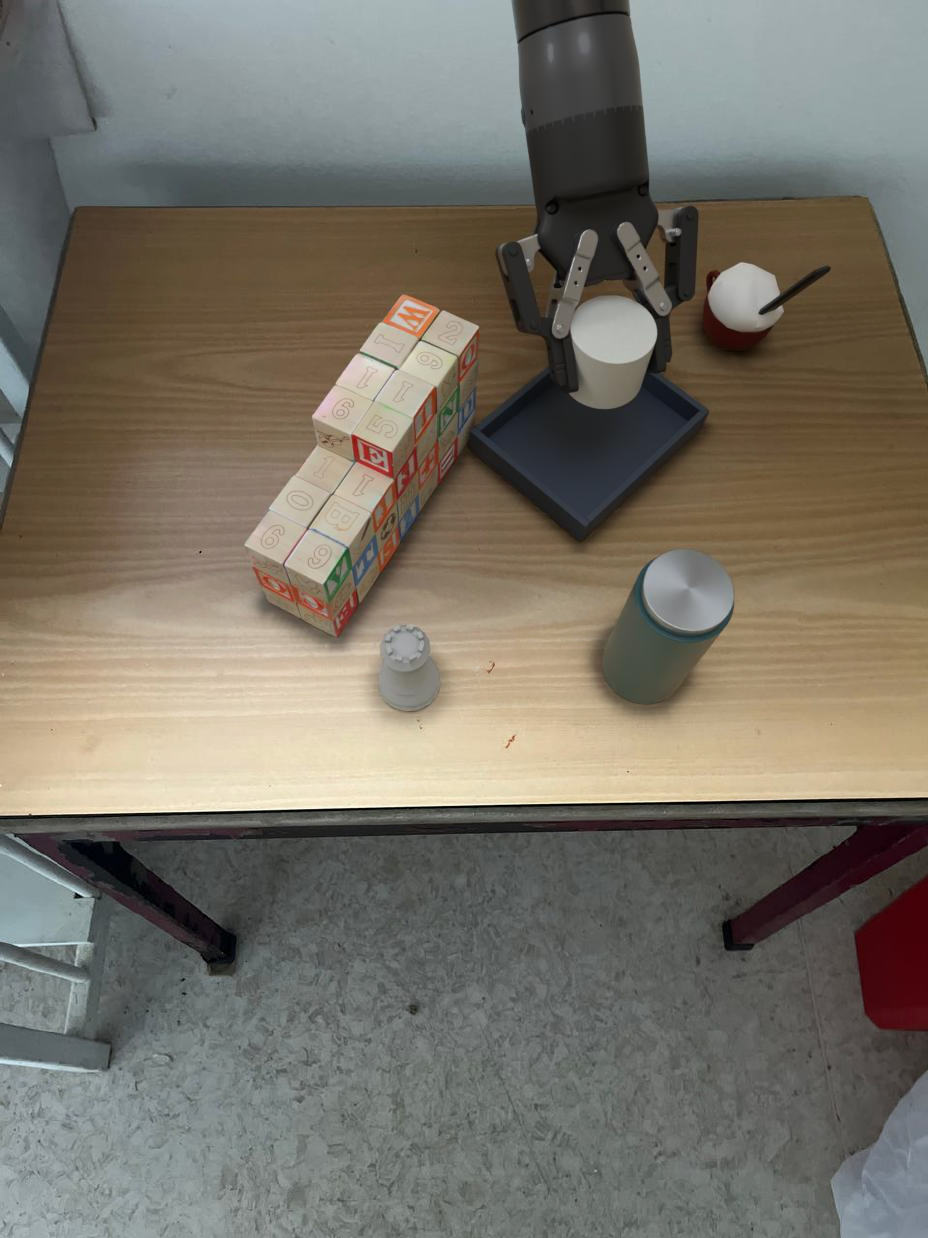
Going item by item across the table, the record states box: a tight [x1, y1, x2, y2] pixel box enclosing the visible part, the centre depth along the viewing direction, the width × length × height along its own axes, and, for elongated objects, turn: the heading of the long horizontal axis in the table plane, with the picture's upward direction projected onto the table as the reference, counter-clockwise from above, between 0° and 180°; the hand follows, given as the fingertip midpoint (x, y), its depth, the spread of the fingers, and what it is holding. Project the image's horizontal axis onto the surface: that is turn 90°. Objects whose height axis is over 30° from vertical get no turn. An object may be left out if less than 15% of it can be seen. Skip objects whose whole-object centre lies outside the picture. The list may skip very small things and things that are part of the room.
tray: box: [468, 365, 711, 543], centre depth 69 cm, size 15×12×2 cm
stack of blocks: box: [243, 293, 480, 638], centre depth 61 cm, size 21×6×12 cm, turn 152°
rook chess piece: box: [377, 623, 441, 712], centre depth 57 cm, size 4×4×8 cm
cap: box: [568, 294, 657, 409], centre depth 60 cm, size 6×6×5 cm
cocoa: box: [701, 261, 832, 352], centre depth 69 cm, size 10×6×12 cm, turn 5°
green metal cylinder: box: [600, 548, 735, 705], centre depth 56 cm, size 6×6×13 cm
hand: (613, 380), depth 61 cm, fingers closed on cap, 6 cm apart
